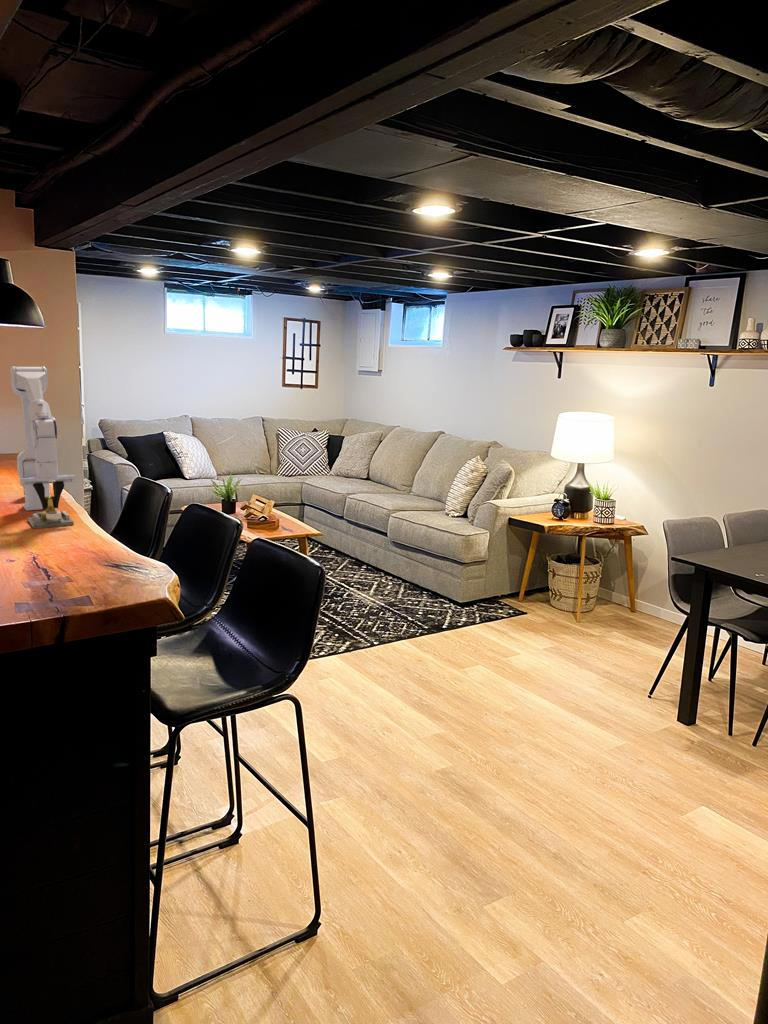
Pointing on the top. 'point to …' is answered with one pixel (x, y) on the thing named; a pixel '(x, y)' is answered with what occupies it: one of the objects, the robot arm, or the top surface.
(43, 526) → the carrier
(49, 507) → the planet gear
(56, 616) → the top surface
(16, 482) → the top surface
